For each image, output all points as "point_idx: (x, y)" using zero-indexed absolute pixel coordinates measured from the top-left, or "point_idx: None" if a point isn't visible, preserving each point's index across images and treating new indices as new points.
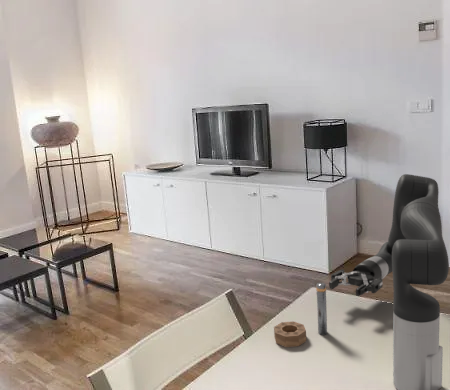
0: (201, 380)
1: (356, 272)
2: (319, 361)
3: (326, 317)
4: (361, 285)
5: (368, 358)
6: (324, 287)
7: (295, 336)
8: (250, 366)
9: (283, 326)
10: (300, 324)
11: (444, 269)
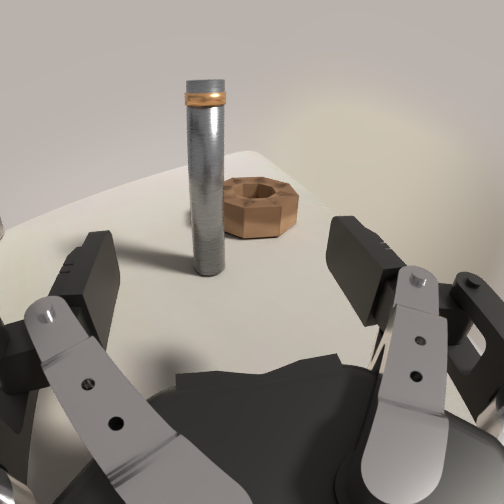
0: (254, 151)
1: (371, 468)
2: (141, 210)
3: (191, 214)
4: (83, 273)
5: (48, 254)
6: (186, 88)
7: None
8: (233, 171)
9: (275, 189)
10: (251, 205)
11: None
